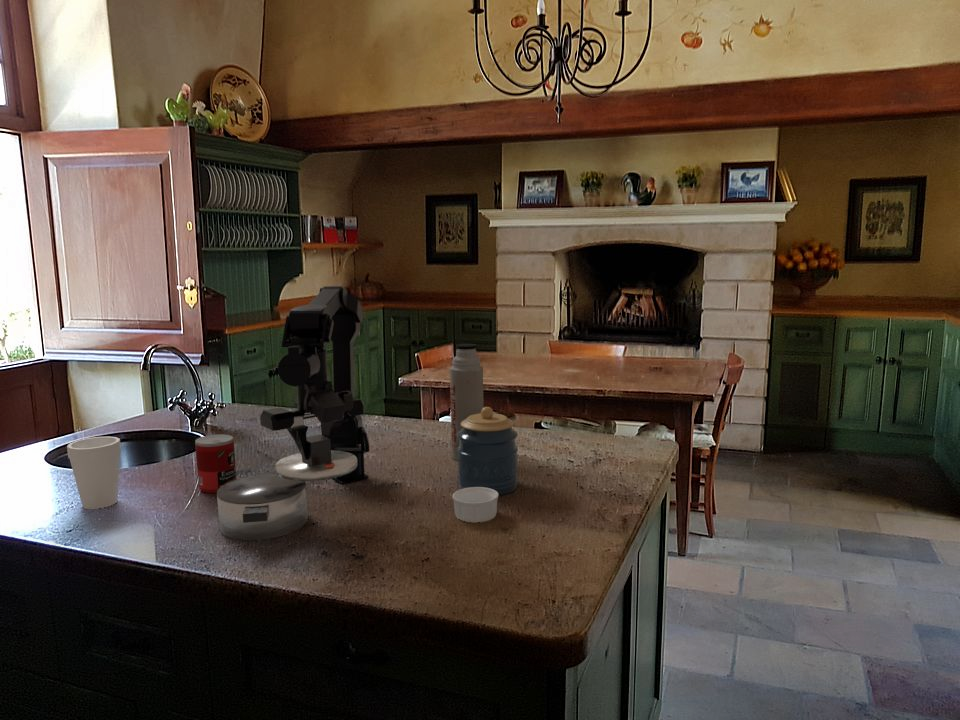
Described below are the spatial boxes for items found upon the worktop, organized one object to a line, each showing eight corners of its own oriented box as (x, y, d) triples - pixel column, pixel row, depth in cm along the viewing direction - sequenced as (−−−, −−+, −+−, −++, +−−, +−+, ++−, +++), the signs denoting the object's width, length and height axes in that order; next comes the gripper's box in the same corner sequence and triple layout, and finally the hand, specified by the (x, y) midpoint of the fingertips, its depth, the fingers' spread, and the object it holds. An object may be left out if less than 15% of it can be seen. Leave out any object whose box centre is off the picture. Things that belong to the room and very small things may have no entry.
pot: (229, 505, 144) (227, 471, 143) (310, 498, 147) (308, 466, 146) (208, 551, 122) (205, 513, 121) (304, 543, 125) (302, 505, 124)
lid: (333, 451, 144) (331, 424, 143) (372, 468, 133) (371, 439, 132) (262, 467, 135) (260, 438, 134) (298, 486, 123) (296, 455, 122)
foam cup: (136, 498, 148) (130, 438, 146) (99, 514, 140) (92, 450, 138) (101, 494, 152) (94, 435, 149) (63, 509, 143) (56, 447, 141)
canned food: (225, 494, 150) (221, 444, 148) (191, 492, 152) (187, 442, 150) (243, 482, 157) (240, 434, 156) (211, 480, 159) (207, 433, 157)
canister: (526, 481, 156) (526, 403, 153) (503, 501, 144) (503, 416, 141) (473, 474, 161) (472, 398, 158) (447, 492, 150) (445, 411, 147)
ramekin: (465, 528, 131) (464, 505, 130) (445, 512, 139) (444, 491, 138) (507, 519, 135) (506, 497, 134) (485, 504, 143) (485, 483, 142)
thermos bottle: (452, 462, 170) (450, 347, 166) (451, 452, 178) (448, 342, 173) (485, 461, 171) (484, 346, 166) (482, 451, 179) (481, 341, 174)
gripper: (283, 389, 119) (288, 478, 121) (378, 374, 131) (381, 456, 133) (256, 380, 127) (261, 463, 130) (347, 367, 139) (351, 444, 142)
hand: (316, 456), depth 133 cm, fingers closed on lid, 4 cm apart
